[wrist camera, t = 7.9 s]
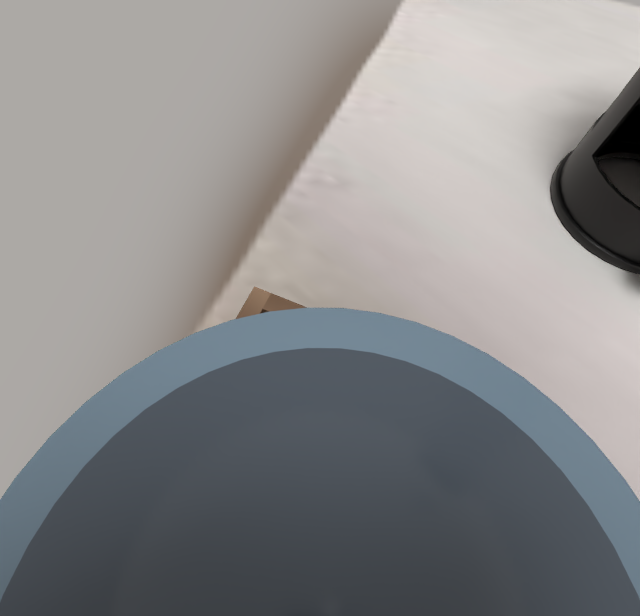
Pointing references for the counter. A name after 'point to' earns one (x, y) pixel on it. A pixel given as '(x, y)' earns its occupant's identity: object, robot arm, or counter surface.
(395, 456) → the cup
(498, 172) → the counter surface
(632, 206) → the french press
